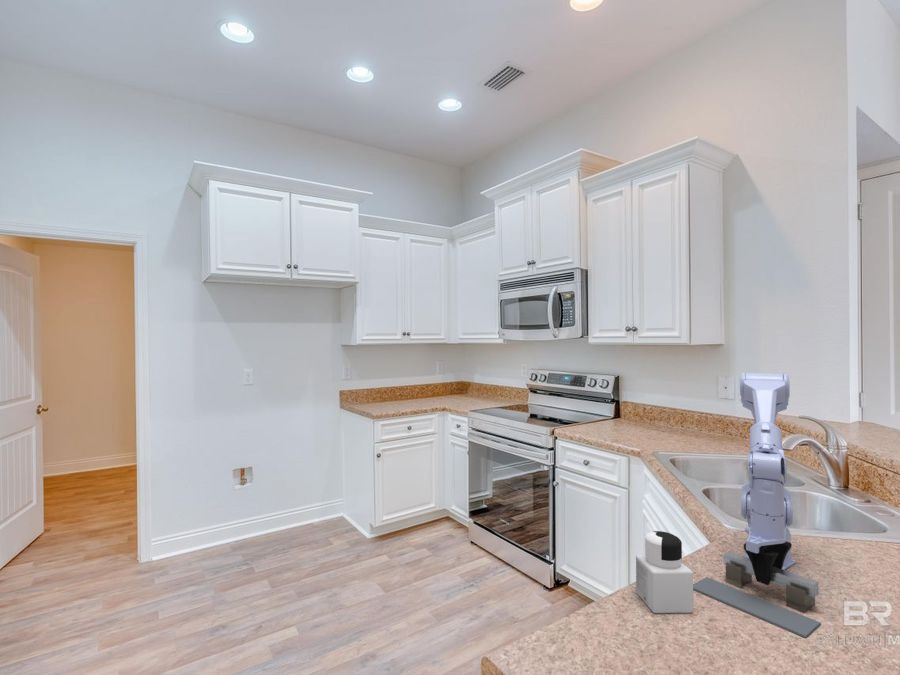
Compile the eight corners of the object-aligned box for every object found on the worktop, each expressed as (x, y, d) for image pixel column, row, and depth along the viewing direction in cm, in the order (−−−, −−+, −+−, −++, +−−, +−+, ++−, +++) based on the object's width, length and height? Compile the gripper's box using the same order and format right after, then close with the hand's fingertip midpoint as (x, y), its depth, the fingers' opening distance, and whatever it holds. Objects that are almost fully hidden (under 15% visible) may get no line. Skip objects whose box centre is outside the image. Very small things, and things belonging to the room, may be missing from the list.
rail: (729, 561, 101) (728, 551, 101) (818, 593, 88) (818, 581, 88) (723, 564, 99) (723, 554, 99) (813, 597, 86) (813, 585, 86)
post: (796, 598, 91) (796, 577, 92) (814, 604, 89) (814, 584, 89) (786, 605, 89) (786, 584, 89) (805, 613, 86) (804, 591, 86)
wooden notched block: (736, 575, 100) (736, 557, 101) (752, 581, 98) (751, 562, 98) (725, 581, 98) (725, 562, 98) (741, 588, 95) (740, 568, 95)
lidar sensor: (672, 591, 94) (672, 527, 94) (694, 613, 86) (693, 543, 86) (635, 592, 93) (634, 527, 94) (653, 614, 86) (652, 543, 86)
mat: (706, 578, 99) (706, 576, 99) (820, 624, 83) (820, 622, 83) (689, 588, 95) (689, 586, 95) (805, 638, 79) (805, 636, 79)
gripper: (760, 500, 101) (761, 562, 101) (729, 513, 93) (730, 581, 93) (798, 509, 95) (800, 575, 95) (768, 524, 87) (769, 596, 87)
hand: (768, 579), depth 93 cm, fingers open, 4 cm apart
